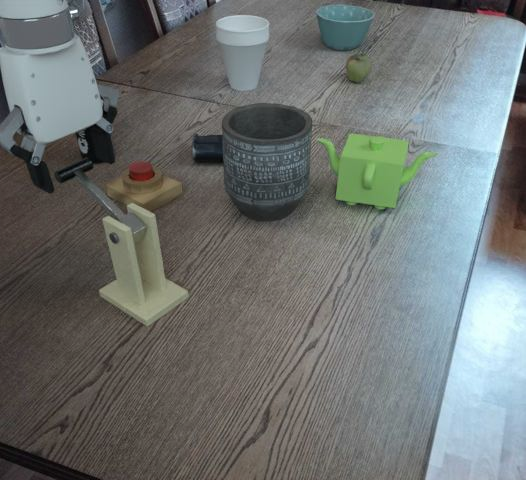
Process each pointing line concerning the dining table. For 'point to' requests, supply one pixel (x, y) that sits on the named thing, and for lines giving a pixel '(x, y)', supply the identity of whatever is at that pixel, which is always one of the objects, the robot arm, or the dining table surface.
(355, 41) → the bowl
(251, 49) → the cup
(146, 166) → the button
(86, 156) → the beverage can
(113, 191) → the button block
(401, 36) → the dining table surface
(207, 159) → the electronic device
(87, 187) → the switch lever
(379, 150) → the teapot
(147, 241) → the switch bracket
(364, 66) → the apple
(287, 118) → the planter
